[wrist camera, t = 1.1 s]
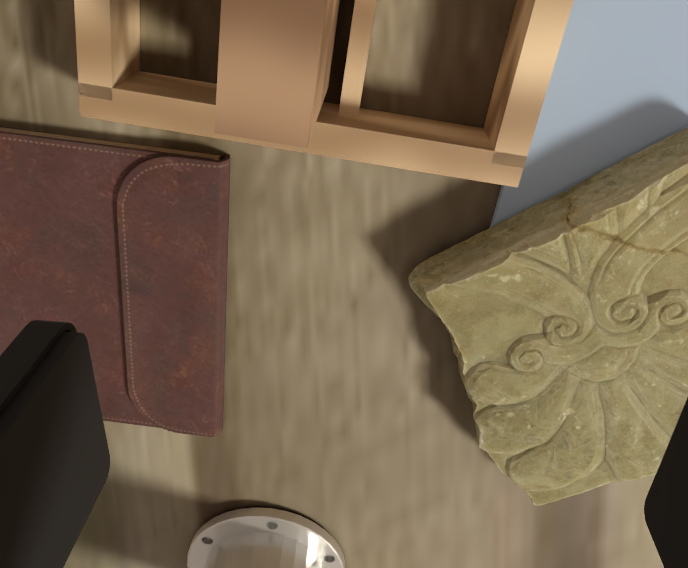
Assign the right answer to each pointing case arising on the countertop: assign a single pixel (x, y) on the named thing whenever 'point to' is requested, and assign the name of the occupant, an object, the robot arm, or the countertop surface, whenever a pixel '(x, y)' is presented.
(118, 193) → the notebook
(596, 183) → the decorative tile
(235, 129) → the brown wooden block
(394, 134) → the oak rack
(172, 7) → the countertop surface
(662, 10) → the slate-blue mat
